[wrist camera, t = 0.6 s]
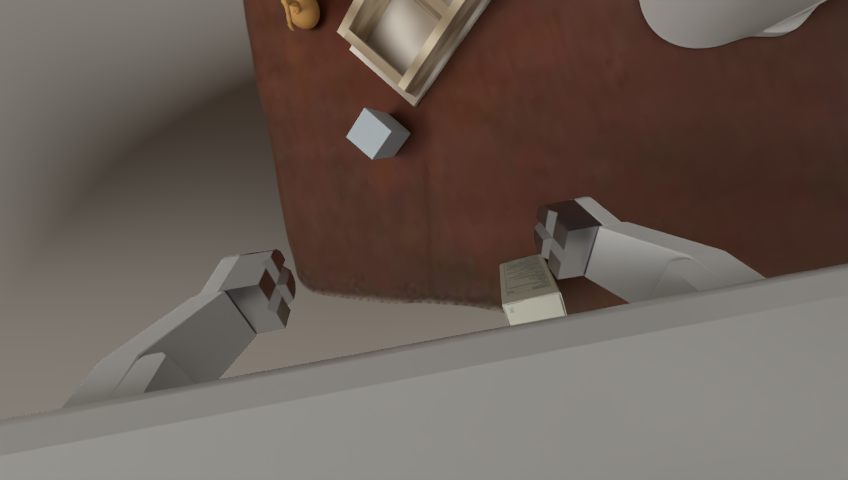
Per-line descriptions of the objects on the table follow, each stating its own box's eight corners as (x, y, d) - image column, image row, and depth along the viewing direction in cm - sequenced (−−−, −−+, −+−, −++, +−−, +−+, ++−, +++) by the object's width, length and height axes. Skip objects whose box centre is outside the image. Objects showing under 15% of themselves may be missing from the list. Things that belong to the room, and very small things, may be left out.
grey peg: (388, 113, 41) (364, 107, 34) (410, 133, 41) (391, 131, 34) (372, 137, 43) (346, 136, 35) (394, 156, 43) (372, 159, 35)
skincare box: (507, 289, 45) (510, 339, 34) (498, 263, 44) (498, 305, 33) (552, 279, 43) (571, 328, 32) (544, 251, 42) (560, 292, 31)
